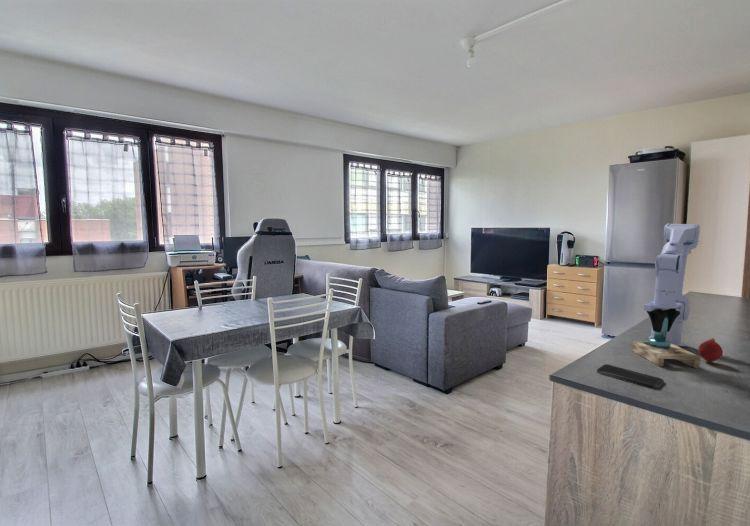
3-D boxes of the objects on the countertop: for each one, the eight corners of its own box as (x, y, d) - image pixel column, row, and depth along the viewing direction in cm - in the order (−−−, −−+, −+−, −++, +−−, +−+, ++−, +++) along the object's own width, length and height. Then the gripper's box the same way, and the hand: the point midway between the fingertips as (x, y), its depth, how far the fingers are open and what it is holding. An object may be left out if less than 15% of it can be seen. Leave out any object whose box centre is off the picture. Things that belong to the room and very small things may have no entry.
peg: (643, 343, 131) (647, 314, 129) (657, 341, 132) (661, 313, 131) (660, 349, 125) (664, 319, 123) (674, 348, 126) (679, 318, 125)
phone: (657, 387, 103) (596, 369, 114) (656, 391, 103) (595, 373, 114) (665, 379, 108) (605, 363, 119) (664, 383, 108) (605, 367, 119)
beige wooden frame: (631, 350, 134) (632, 341, 133) (668, 352, 133) (669, 342, 132) (658, 366, 120) (659, 355, 119) (699, 367, 119) (700, 357, 118)
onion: (712, 366, 120) (715, 341, 120) (692, 359, 126) (695, 335, 125) (725, 364, 122) (728, 340, 121) (705, 358, 128) (708, 334, 127)
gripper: (670, 287, 132) (665, 326, 134) (636, 289, 128) (632, 329, 130) (691, 291, 125) (687, 332, 127) (657, 293, 121) (653, 335, 123)
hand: (661, 331), depth 128 cm, fingers closed on peg, 3 cm apart
